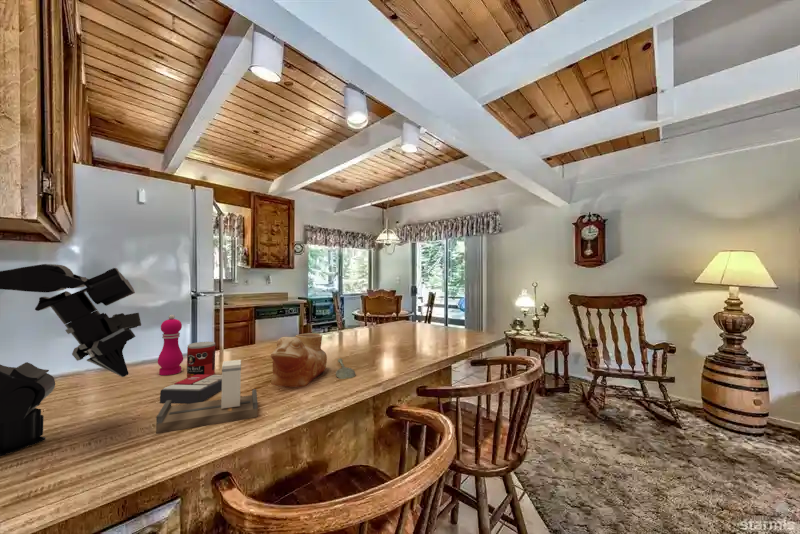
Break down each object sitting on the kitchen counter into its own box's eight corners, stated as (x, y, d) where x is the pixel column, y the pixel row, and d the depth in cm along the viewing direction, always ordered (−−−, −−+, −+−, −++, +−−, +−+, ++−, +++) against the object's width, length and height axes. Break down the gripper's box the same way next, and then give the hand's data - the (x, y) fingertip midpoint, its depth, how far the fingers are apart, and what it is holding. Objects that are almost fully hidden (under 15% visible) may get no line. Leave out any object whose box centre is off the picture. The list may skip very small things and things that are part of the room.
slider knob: (221, 408, 78) (221, 366, 79) (222, 401, 83) (223, 361, 83) (240, 406, 80) (240, 364, 80) (240, 398, 85) (241, 359, 85)
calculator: (230, 373, 102) (200, 388, 87) (230, 388, 102) (199, 404, 87) (196, 373, 103) (159, 387, 88) (195, 387, 102) (158, 403, 87)
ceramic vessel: (256, 390, 98) (257, 339, 98) (298, 365, 124) (299, 325, 124) (299, 393, 95) (300, 341, 96) (333, 368, 121) (334, 327, 122)
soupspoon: (336, 383, 108) (356, 382, 110) (336, 372, 108) (356, 372, 110) (331, 362, 129) (348, 362, 131) (332, 354, 129) (349, 354, 131)
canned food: (180, 379, 106) (181, 345, 106) (202, 372, 114) (203, 340, 114) (199, 382, 104) (200, 347, 104) (220, 374, 112) (220, 342, 112)
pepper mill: (169, 376, 109) (171, 316, 110) (151, 375, 111) (153, 315, 111) (188, 370, 116) (189, 313, 117) (170, 369, 118) (172, 313, 118)
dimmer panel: (156, 433, 71) (156, 416, 71) (166, 415, 80) (166, 400, 80) (257, 416, 79) (257, 402, 80) (256, 402, 88) (256, 388, 89)
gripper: (138, 291, 72) (178, 349, 76) (109, 305, 82) (146, 356, 86) (76, 319, 63) (126, 383, 67) (52, 330, 73) (96, 386, 77)
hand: (125, 375), depth 75 cm, fingers closed
